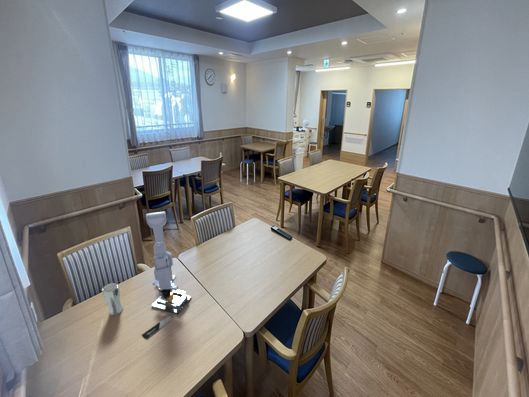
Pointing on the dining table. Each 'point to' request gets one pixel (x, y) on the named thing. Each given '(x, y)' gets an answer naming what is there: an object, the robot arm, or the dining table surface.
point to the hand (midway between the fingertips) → (167, 297)
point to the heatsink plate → (169, 307)
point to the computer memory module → (157, 327)
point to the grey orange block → (173, 299)
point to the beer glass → (112, 298)
